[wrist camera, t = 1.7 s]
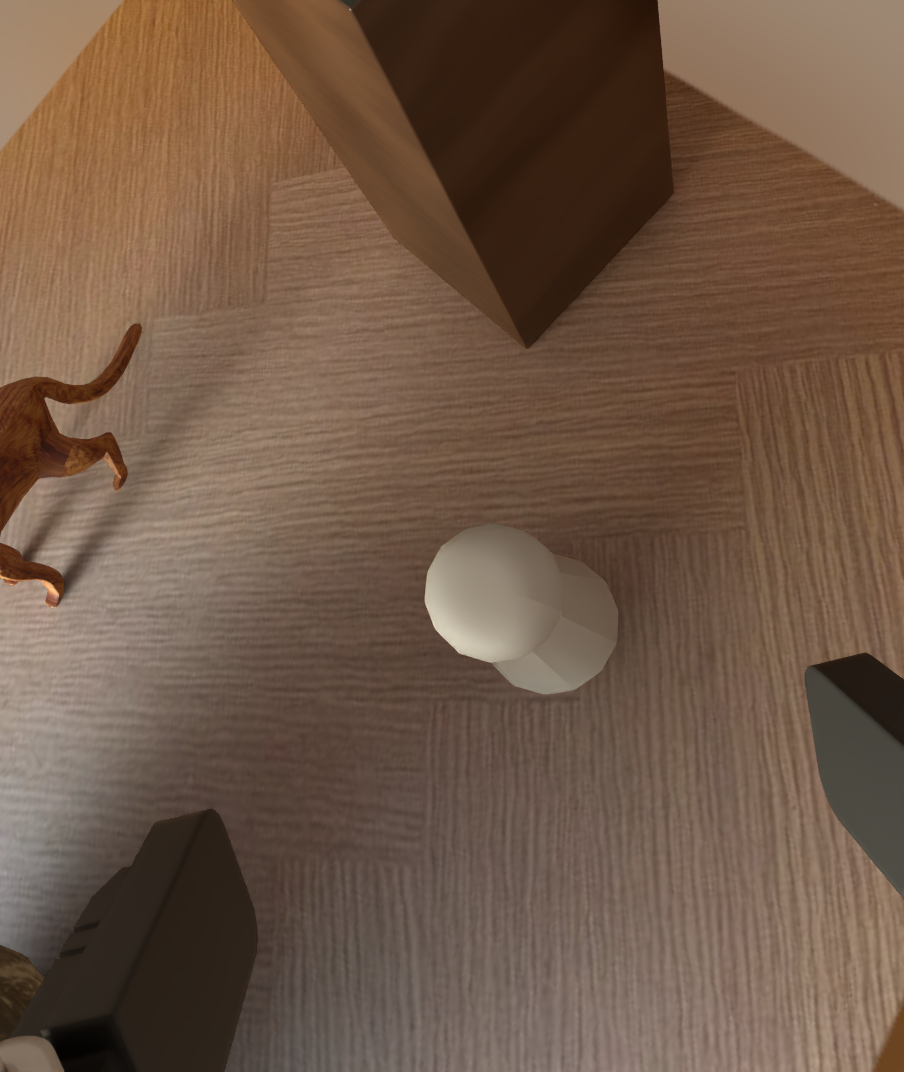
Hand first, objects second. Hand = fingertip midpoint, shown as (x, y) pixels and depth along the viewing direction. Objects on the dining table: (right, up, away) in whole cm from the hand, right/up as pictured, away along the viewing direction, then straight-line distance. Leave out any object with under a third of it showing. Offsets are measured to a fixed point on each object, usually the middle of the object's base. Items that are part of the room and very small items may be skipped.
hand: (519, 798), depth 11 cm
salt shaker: (+4, -1, +27) cm, 27 cm away
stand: (+3, +19, +31) cm, 36 cm away
